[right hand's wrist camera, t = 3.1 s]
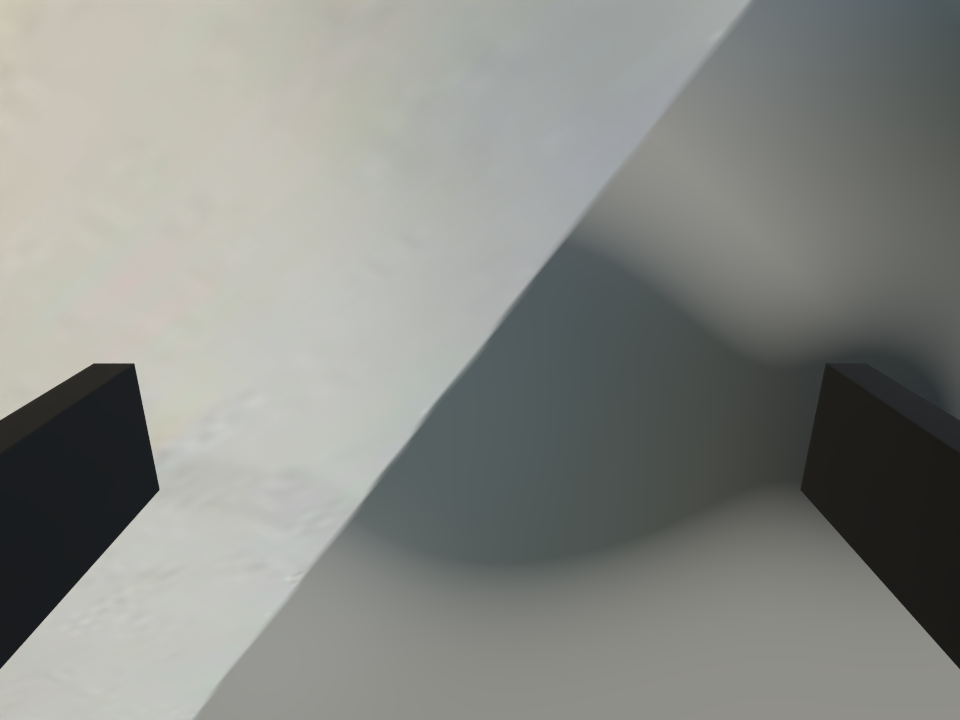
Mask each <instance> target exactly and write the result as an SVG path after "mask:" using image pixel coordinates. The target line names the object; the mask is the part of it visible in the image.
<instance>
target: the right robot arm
mask: <svg viewBox="0 0 960 720" xmlns="http://www.w3.org/2000/svg"><path fill="white" fill-rule="evenodd" d="M158 491H159V485H158V480H157V475H156V470H155V465H154V460H153V455H152V450H151V445H150V440H149V435H148V430H147V425H146V420H145V415H144V410H143V405H142V400H141V395H140V390H139V385H138V380H137V375H136V370H135V365H134V364H92V365H91V366H89V367H87V368H86V369H84V370H82V371H81V372H79V373H77V374H76V375H74V376H73V377H71V378H69V379H68V380H66V381H64V382H63V383H61V384H59V385H58V386H56V387H54V388H53V389H51V390H49V391H48V392H46V393H45V394H43V395H41V396H40V397H38V398H36V399H35V400H33V401H31V402H30V403H28V404H26V405H25V406H23V407H21V408H20V409H18V410H17V411H15V412H13V413H12V414H10V415H8V416H7V417H5V418H3V419H2V420H0V669H1V668H2V666H3V665H4V664H5V663H6V662H7V661H8V660H9V659H10V657H11V656H12V655H13V654H14V653H15V652H16V651H17V650H18V648H19V647H20V646H21V645H22V644H23V643H24V642H25V641H26V639H27V638H28V637H29V636H30V635H31V634H32V633H33V632H34V630H35V629H36V628H37V627H38V626H39V625H40V624H41V623H42V621H43V620H44V619H45V618H46V617H47V616H48V615H49V614H50V612H51V611H52V610H53V609H54V608H55V607H56V606H57V605H58V603H59V602H60V601H61V600H62V599H63V598H64V597H65V596H66V594H67V593H68V592H69V591H70V590H71V589H72V588H73V587H74V585H75V584H76V583H77V582H78V581H79V580H80V579H81V578H82V576H83V575H84V574H85V573H86V572H87V571H88V570H89V569H90V567H91V566H92V565H93V564H94V563H95V562H96V561H97V560H98V558H99V557H100V556H101V555H102V554H103V553H104V552H105V551H106V549H107V548H108V547H109V546H110V545H111V544H112V543H113V542H114V540H115V539H116V538H117V537H118V536H119V535H120V534H121V533H122V531H123V530H124V529H125V528H126V527H127V526H128V525H129V524H130V522H131V521H132V520H133V519H134V518H135V517H136V516H137V515H138V513H139V512H140V511H141V510H142V509H143V508H144V507H145V506H146V504H147V503H148V502H149V501H150V500H151V499H152V498H153V497H154V495H155V494H156V493H157V492H158ZM801 491H802V492H803V493H804V494H805V495H806V497H807V498H808V499H809V500H810V501H811V502H812V503H813V504H814V505H815V507H816V508H817V509H818V510H819V511H820V512H821V513H822V514H823V516H824V517H825V518H826V519H827V520H828V521H829V522H830V524H831V525H832V526H833V527H834V528H835V529H836V530H837V531H838V533H839V534H840V535H841V536H842V537H843V538H844V539H845V540H846V542H847V543H848V544H849V545H850V546H851V547H852V548H853V549H854V550H855V552H856V553H857V554H858V555H859V556H860V557H861V558H862V560H863V561H864V562H865V563H866V564H867V565H868V566H869V567H870V569H871V570H872V571H873V572H874V573H875V574H876V575H877V576H878V578H879V579H880V580H881V581H882V582H883V583H884V584H885V585H886V587H887V588H888V589H889V590H890V591H891V592H892V593H893V594H894V596H895V597H896V598H897V599H898V600H899V601H900V602H901V603H902V605H903V606H904V607H905V608H906V609H907V610H908V611H909V612H910V614H911V615H912V616H913V617H914V618H915V619H916V620H917V621H918V623H919V624H920V625H921V626H922V627H923V628H924V629H925V630H926V632H927V633H928V634H929V635H930V636H931V637H932V638H933V639H934V641H935V642H936V643H937V644H938V645H939V646H940V647H941V648H942V650H943V651H944V652H945V653H946V654H947V655H948V656H949V657H950V659H951V660H952V661H953V662H954V663H955V664H956V665H957V666H958V668H959V669H960V420H958V419H957V418H955V417H953V416H952V415H950V414H948V413H947V412H945V411H943V410H942V409H940V408H939V407H937V406H935V405H934V404H932V403H930V402H929V401H927V400H925V399H924V398H922V397H920V396H919V395H917V394H915V393H914V392H912V391H910V390H909V389H907V388H906V387H904V386H902V385H901V384H899V383H897V382H896V381H894V380H892V379H891V378H889V377H887V376H886V375H884V374H882V373H881V372H879V371H878V370H876V369H874V368H873V367H871V366H869V365H868V364H826V365H825V370H824V375H823V380H822V385H821V390H820V395H819V400H818V405H817V410H816V415H815V420H814V425H813V430H812V435H811V440H810V445H809V450H808V455H807V460H806V465H805V470H804V475H803V480H802V485H801Z"/></svg>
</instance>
